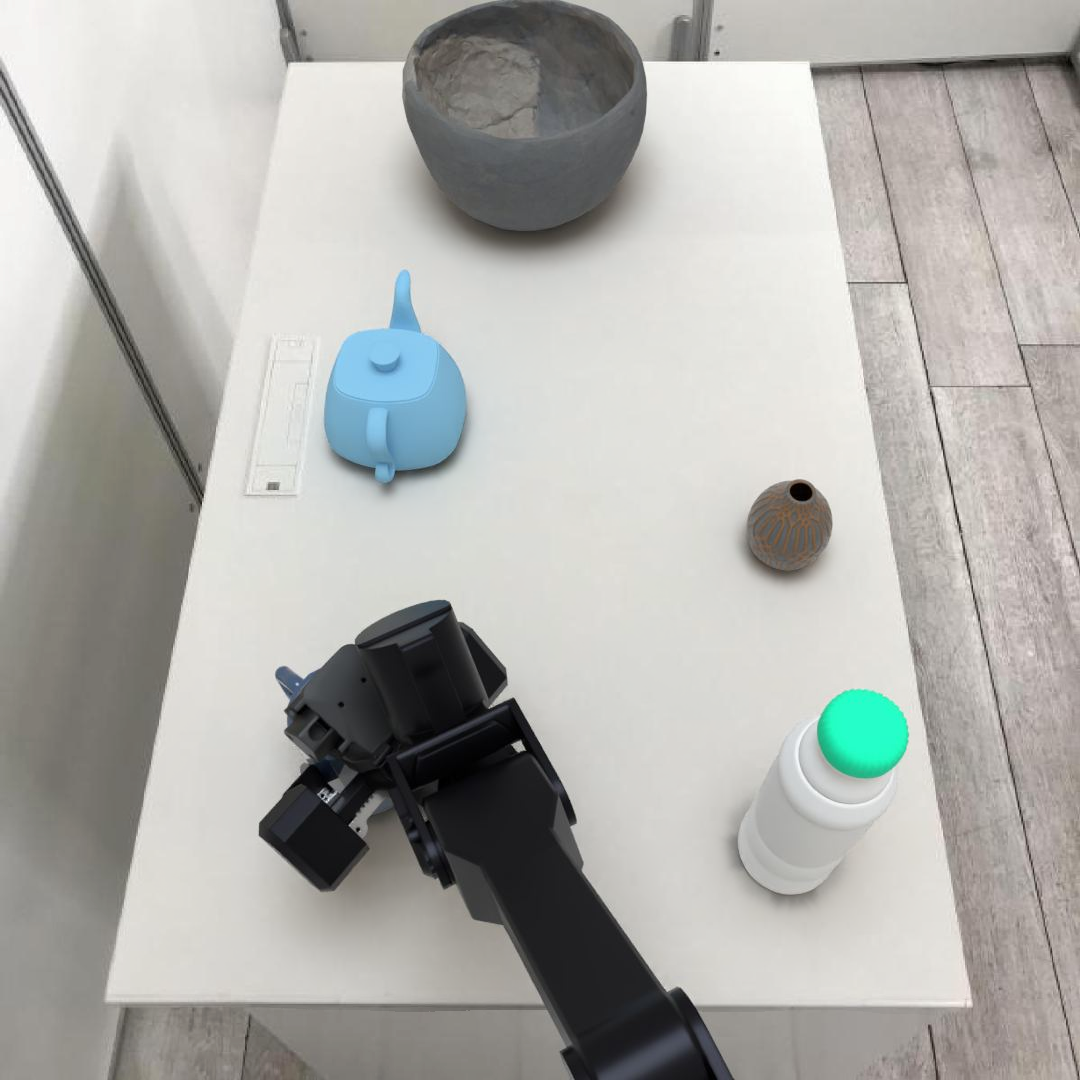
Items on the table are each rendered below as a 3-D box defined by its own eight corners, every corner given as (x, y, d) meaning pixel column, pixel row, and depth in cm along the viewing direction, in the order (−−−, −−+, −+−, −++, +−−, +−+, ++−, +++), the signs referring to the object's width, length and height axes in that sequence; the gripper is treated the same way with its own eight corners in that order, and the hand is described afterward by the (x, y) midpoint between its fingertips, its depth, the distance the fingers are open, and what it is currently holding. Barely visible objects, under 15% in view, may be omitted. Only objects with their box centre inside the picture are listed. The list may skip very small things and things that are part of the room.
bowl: (426, 111, 123) (411, -15, 110) (639, 114, 122) (648, -12, 109) (403, 265, 110) (383, 144, 97) (640, 270, 109) (651, 148, 96)
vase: (733, 570, 91) (749, 516, 83) (749, 505, 94) (766, 447, 87) (814, 591, 90) (838, 537, 82) (827, 524, 93) (851, 466, 86)
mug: (432, 764, 82) (410, 701, 71) (372, 833, 80) (339, 780, 68) (338, 690, 86) (303, 619, 74) (278, 754, 83) (232, 691, 72)
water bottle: (822, 910, 76) (924, 806, 55) (726, 878, 78) (789, 764, 56) (840, 818, 80) (944, 685, 58) (748, 788, 81) (816, 648, 60)
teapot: (472, 268, 95) (445, 430, 86) (479, 348, 104) (456, 503, 95) (332, 260, 96) (291, 420, 86) (352, 341, 105) (316, 493, 96)
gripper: (462, 565, 65) (357, 560, 78) (240, 807, 57) (165, 756, 70) (565, 690, 69) (449, 665, 82) (371, 930, 61) (277, 861, 74)
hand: (340, 730), depth 77 cm, fingers closed on mug, 7 cm apart
